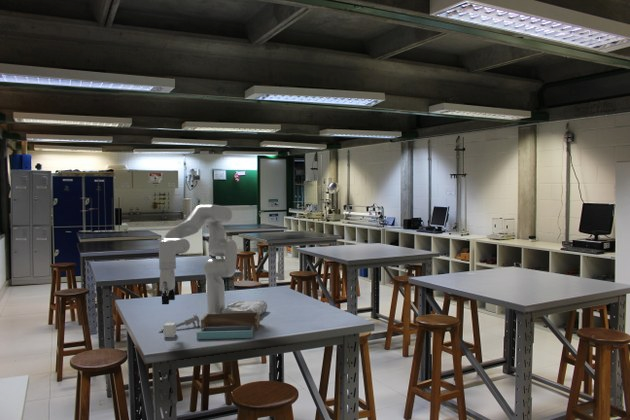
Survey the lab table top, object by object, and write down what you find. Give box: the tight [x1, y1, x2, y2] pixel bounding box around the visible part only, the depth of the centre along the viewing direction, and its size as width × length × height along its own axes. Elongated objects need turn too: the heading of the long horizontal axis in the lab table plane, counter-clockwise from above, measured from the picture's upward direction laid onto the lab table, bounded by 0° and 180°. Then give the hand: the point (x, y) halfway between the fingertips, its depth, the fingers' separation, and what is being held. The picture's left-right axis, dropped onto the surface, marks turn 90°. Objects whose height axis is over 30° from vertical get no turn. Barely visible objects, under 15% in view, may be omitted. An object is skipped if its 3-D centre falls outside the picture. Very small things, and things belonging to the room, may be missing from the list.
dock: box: [200, 312, 261, 331], centre depth 248 cm, size 12×27×6 cm, turn 91°
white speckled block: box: [163, 322, 177, 338], centre depth 236 cm, size 5×5×6 cm
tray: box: [196, 325, 255, 340], centre depth 235 cm, size 12×26×3 cm, turn 91°
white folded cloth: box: [222, 300, 268, 316], centre depth 275 cm, size 19×28×8 cm
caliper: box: [158, 314, 200, 333], centre depth 249 cm, size 20×1×6 cm, turn 124°
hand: (168, 302), depth 235 cm, fingers open, 9 cm apart
